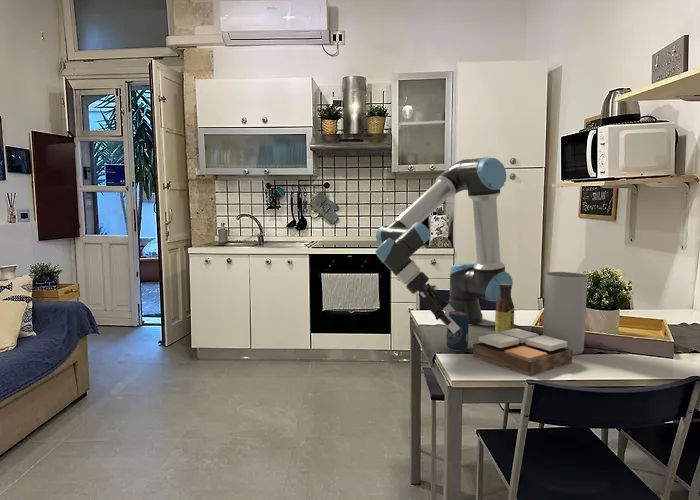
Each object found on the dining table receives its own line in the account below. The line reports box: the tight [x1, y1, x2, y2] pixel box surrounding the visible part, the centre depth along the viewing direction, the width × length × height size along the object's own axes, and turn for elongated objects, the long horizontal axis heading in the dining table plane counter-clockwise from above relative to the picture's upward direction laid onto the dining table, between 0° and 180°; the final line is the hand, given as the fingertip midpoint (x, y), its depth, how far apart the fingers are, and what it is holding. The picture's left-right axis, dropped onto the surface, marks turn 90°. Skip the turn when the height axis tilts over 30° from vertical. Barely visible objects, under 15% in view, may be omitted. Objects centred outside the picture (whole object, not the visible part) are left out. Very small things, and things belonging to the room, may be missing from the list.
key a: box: [500, 328, 540, 343], centre depth 159 cm, size 8×8×2 cm
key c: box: [526, 334, 567, 351], centre depth 151 cm, size 8×8×2 cm
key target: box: [504, 346, 547, 361], centre depth 146 cm, size 8×8×2 cm
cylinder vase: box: [542, 271, 589, 356], centre depth 162 cm, size 12×12×25 cm
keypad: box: [472, 342, 573, 377], centre depth 153 cm, size 21×21×4 cm
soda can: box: [446, 311, 470, 352], centre depth 163 cm, size 7×7×12 cm
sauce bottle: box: [494, 284, 515, 334], centre depth 173 cm, size 7×6×20 cm
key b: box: [478, 332, 519, 348], centre depth 154 cm, size 8×8×2 cm
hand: (458, 325), depth 163 cm, fingers open, 13 cm apart
